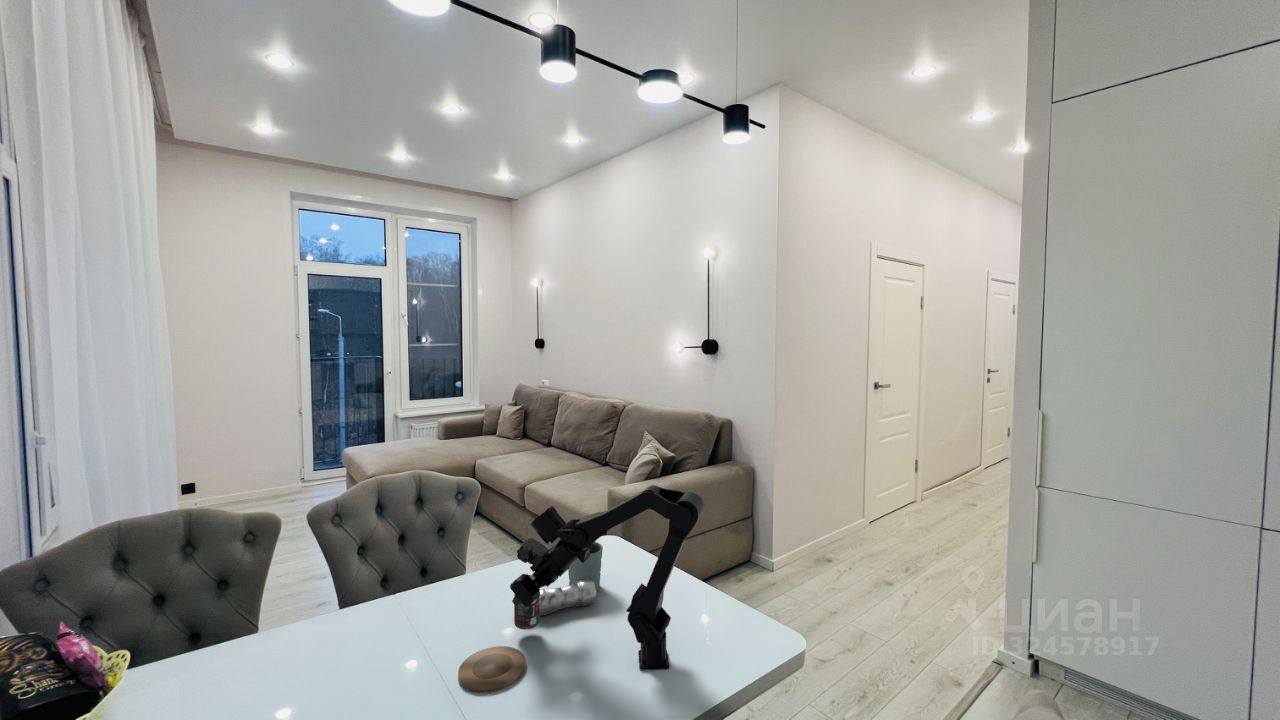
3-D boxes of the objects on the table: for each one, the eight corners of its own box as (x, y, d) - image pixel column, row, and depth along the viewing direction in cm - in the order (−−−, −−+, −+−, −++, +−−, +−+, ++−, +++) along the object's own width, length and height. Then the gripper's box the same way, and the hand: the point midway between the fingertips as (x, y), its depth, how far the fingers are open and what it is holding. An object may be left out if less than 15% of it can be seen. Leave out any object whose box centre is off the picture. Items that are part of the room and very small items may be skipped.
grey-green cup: (565, 582, 150) (564, 542, 150) (598, 577, 153) (598, 538, 153) (570, 599, 141) (570, 556, 140) (606, 593, 144) (606, 551, 143)
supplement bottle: (541, 628, 122) (541, 582, 121) (515, 632, 120) (515, 586, 120) (537, 615, 128) (537, 570, 127) (513, 619, 126) (513, 574, 125)
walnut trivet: (519, 691, 104) (519, 686, 104) (449, 694, 104) (449, 689, 104) (530, 649, 118) (530, 644, 118) (469, 651, 118) (468, 647, 118)
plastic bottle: (589, 582, 144) (517, 597, 136) (595, 574, 139) (520, 589, 131) (595, 606, 140) (521, 623, 132) (600, 598, 135) (524, 616, 127)
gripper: (557, 517, 131) (520, 554, 135) (516, 546, 113) (476, 588, 117) (586, 551, 128) (548, 588, 132) (548, 586, 111) (506, 627, 115)
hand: (520, 596), depth 124 cm, fingers closed on supplement bottle, 6 cm apart
